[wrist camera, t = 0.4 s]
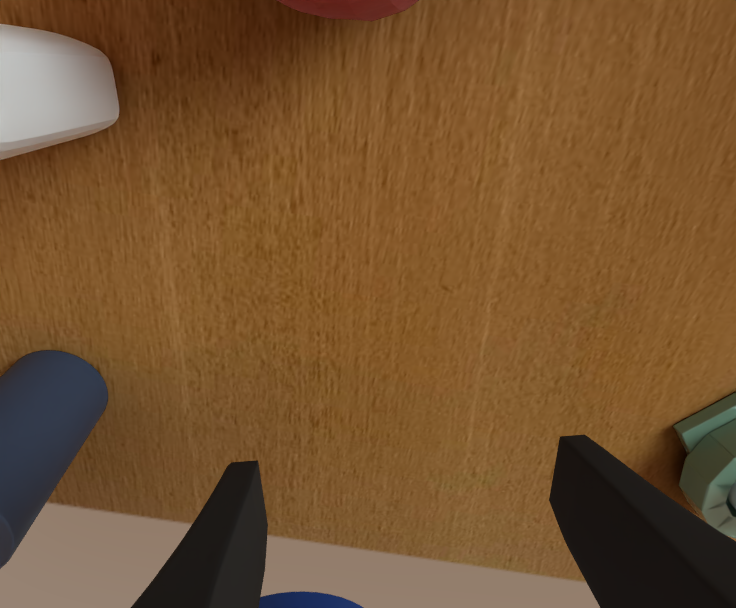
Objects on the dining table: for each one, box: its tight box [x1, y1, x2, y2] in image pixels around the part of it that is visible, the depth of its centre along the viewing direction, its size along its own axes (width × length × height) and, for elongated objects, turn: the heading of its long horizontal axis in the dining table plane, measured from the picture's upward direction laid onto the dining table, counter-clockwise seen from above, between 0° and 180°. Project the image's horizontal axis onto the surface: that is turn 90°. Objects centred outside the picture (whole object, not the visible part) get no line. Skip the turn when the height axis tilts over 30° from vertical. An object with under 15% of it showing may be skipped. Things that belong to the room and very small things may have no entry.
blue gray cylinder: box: [0, 350, 108, 568], centre depth 18 cm, size 4×4×8 cm
